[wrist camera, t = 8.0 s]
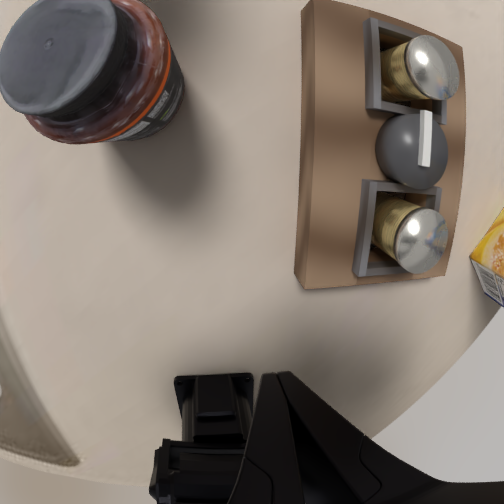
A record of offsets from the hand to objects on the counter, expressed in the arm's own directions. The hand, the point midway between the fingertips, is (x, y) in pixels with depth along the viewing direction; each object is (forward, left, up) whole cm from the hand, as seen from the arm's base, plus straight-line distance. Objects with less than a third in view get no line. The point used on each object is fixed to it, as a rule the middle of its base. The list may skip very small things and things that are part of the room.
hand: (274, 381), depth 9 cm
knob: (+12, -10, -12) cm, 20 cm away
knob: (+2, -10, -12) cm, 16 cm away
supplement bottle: (+10, +6, -12) cm, 17 cm away
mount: (+7, -10, -12) cm, 17 cm away
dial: (+7, -10, -9) cm, 15 cm away
